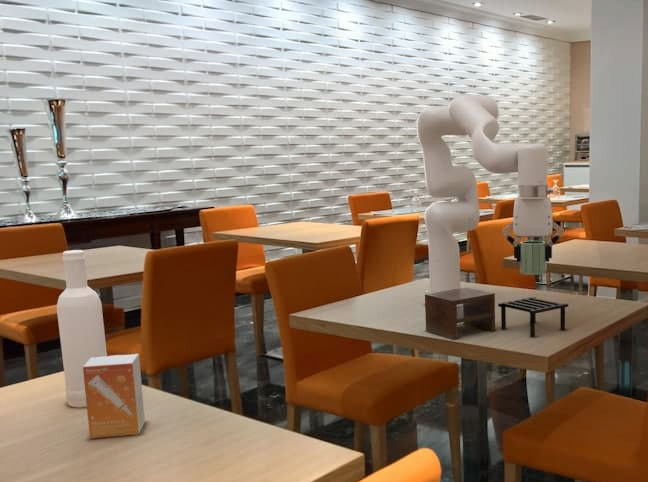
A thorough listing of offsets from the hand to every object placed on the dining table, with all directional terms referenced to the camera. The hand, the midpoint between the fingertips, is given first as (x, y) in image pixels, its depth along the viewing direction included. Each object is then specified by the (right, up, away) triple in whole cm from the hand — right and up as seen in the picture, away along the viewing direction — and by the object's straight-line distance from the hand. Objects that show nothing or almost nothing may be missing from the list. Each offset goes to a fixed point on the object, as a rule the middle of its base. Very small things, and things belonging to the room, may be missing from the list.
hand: (533, 260), depth 195 cm
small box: (-80, -32, -63) cm, 107 cm away
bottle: (-93, -29, -47) cm, 108 cm away
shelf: (-19, -18, +4) cm, 27 cm away
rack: (0, -18, +3) cm, 18 cm away
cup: (0, -3, +1) cm, 3 cm away
